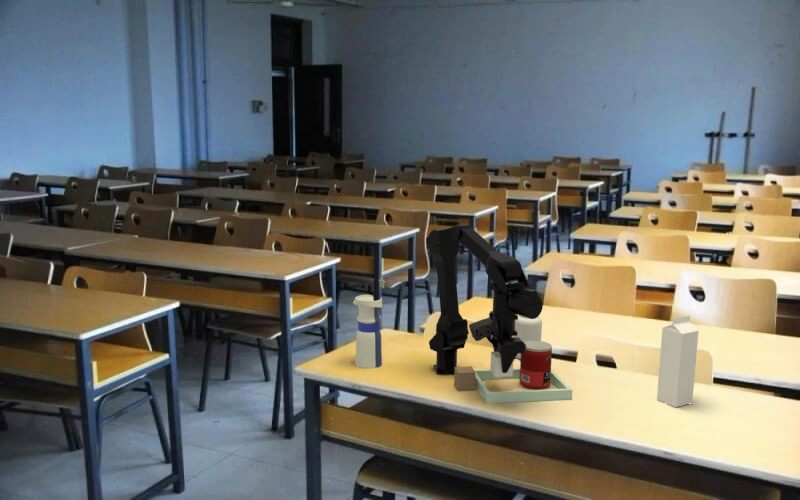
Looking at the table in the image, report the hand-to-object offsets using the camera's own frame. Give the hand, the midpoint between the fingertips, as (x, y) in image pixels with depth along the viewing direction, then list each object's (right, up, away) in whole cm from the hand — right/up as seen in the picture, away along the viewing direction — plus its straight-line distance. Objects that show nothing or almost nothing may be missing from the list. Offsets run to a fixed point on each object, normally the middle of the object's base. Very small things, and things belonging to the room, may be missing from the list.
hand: (501, 369), depth 182 cm
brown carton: (-9, -6, +6) cm, 12 cm away
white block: (0, -1, 0) cm, 1 cm away
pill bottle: (+12, -2, +31) cm, 33 cm away
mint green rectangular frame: (+5, -6, +6) cm, 10 cm away
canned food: (+10, -6, +9) cm, 15 cm away
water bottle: (-35, -2, +24) cm, 42 cm away
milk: (+43, -8, -2) cm, 44 cm away
